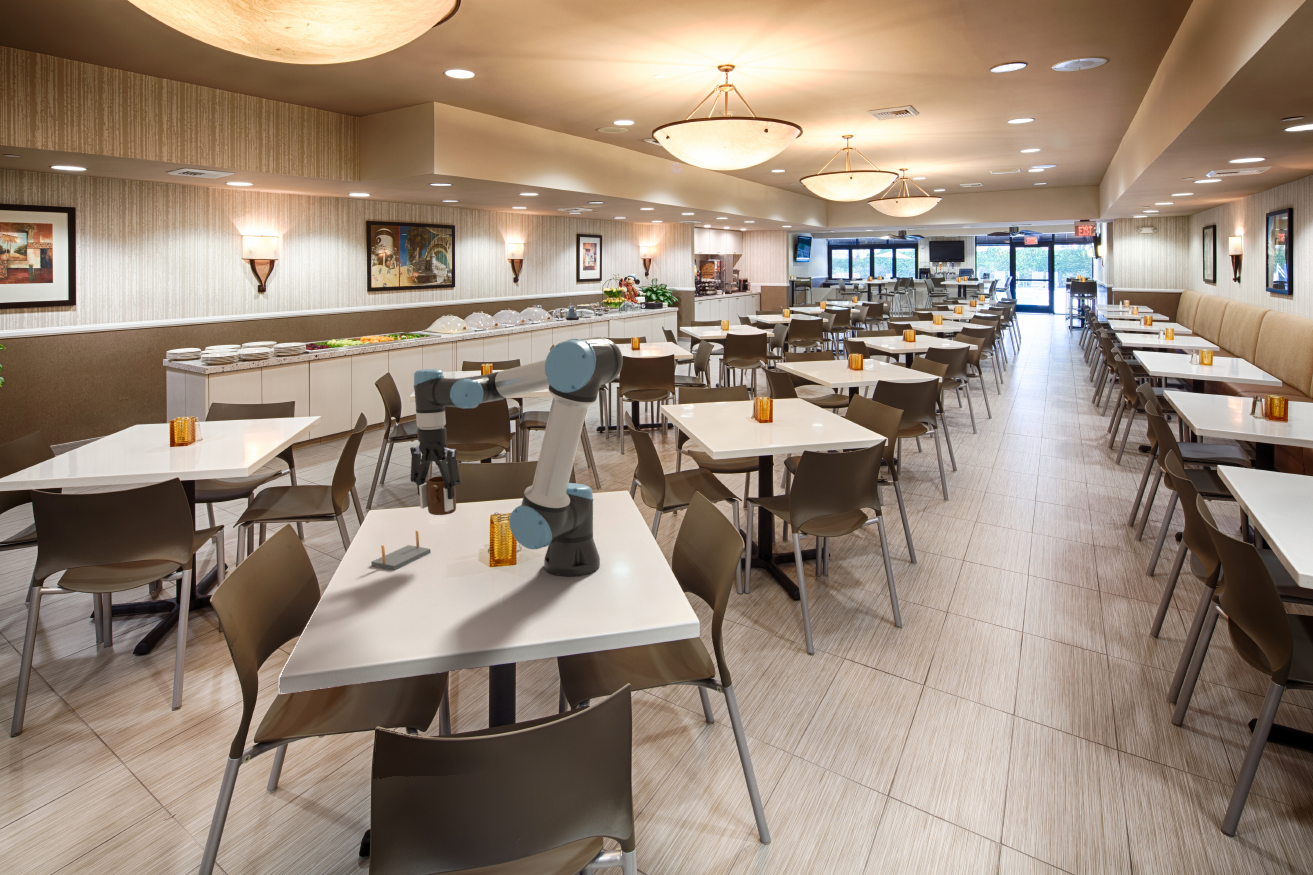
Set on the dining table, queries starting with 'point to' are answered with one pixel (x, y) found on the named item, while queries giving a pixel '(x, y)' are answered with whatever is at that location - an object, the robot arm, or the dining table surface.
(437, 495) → the mug
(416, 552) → the grey pegged flat base
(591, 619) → the dining table surface
